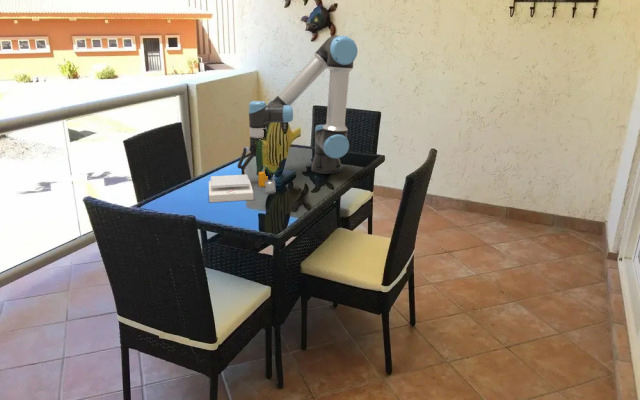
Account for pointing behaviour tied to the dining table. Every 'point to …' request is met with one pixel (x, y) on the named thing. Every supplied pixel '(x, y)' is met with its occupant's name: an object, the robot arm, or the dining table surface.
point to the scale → (230, 188)
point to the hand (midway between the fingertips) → (259, 181)
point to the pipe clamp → (262, 178)
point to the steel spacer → (270, 187)
